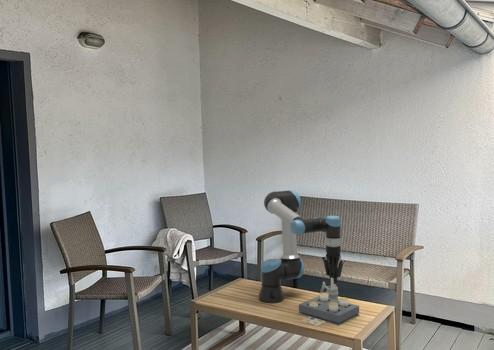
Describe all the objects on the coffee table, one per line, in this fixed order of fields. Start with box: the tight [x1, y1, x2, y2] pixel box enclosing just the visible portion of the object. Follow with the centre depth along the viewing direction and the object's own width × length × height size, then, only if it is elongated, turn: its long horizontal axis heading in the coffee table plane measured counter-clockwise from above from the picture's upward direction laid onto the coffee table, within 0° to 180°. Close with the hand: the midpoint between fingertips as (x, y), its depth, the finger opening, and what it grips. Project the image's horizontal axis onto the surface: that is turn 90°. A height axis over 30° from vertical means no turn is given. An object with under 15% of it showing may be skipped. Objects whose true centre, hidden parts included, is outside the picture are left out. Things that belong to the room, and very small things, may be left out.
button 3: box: [329, 302, 338, 313], centre depth 257 cm, size 5×5×5 cm
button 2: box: [319, 292, 328, 303], centre depth 273 cm, size 5×5×5 cm
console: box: [298, 295, 360, 326], centre depth 265 cm, size 26×20×5 cm
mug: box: [319, 281, 339, 300], centre depth 283 cm, size 8×12×12 cm, turn 48°
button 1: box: [309, 302, 318, 307], centre depth 266 cm, size 5×5×5 cm
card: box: [301, 316, 327, 327], centre depth 254 cm, size 10×7×1 cm
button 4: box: [338, 297, 349, 308], centre depth 264 cm, size 5×5×5 cm
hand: (333, 289), depth 256 cm, fingers closed
